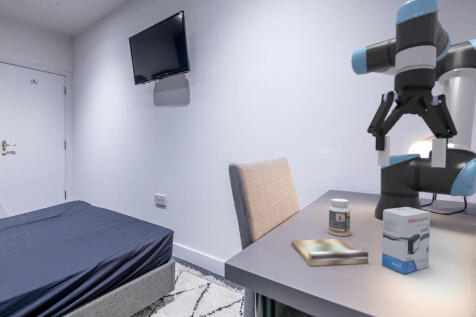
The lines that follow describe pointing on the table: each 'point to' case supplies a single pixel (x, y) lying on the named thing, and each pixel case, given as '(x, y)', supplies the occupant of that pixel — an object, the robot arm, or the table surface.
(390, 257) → the ink box
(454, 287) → the table surface
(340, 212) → the pill bottle
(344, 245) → the tan flat block
